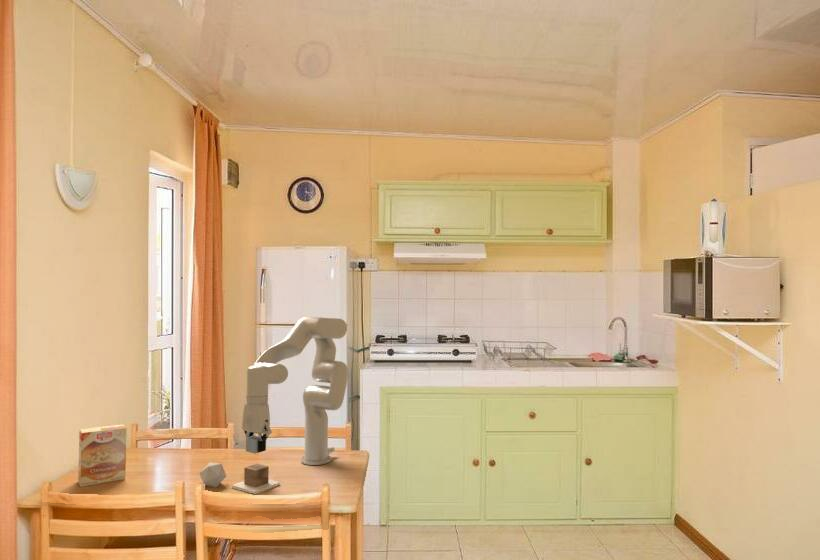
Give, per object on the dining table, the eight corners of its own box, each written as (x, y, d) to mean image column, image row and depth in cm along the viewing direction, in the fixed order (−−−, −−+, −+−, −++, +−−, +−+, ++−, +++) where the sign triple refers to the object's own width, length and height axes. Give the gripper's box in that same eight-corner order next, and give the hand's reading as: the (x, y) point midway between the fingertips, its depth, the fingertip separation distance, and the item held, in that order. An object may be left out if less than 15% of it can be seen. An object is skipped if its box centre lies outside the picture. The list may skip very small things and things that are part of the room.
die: (230, 484, 207) (223, 460, 212) (224, 480, 200) (217, 454, 204) (208, 494, 205) (201, 469, 210) (201, 489, 198) (195, 464, 202)
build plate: (257, 478, 212) (257, 476, 212) (280, 484, 205) (280, 482, 205) (231, 487, 202) (231, 485, 202) (254, 494, 195) (254, 491, 195)
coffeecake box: (79, 487, 201) (81, 432, 202) (77, 481, 207) (78, 428, 208) (126, 479, 210) (126, 427, 211) (122, 474, 216) (123, 423, 216)
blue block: (256, 448, 207) (256, 434, 207) (265, 450, 204) (266, 436, 205) (245, 451, 203) (246, 437, 203) (255, 453, 200) (255, 439, 200)
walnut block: (257, 479, 208) (257, 463, 208) (268, 482, 205) (268, 466, 205) (244, 484, 203) (244, 467, 203) (255, 487, 200) (255, 470, 200)
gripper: (233, 398, 206) (232, 448, 205) (265, 404, 197) (264, 456, 196) (249, 395, 212) (248, 444, 212) (281, 401, 203) (280, 451, 202)
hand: (256, 449), depth 204 cm, fingers closed on blue block, 4 cm apart
